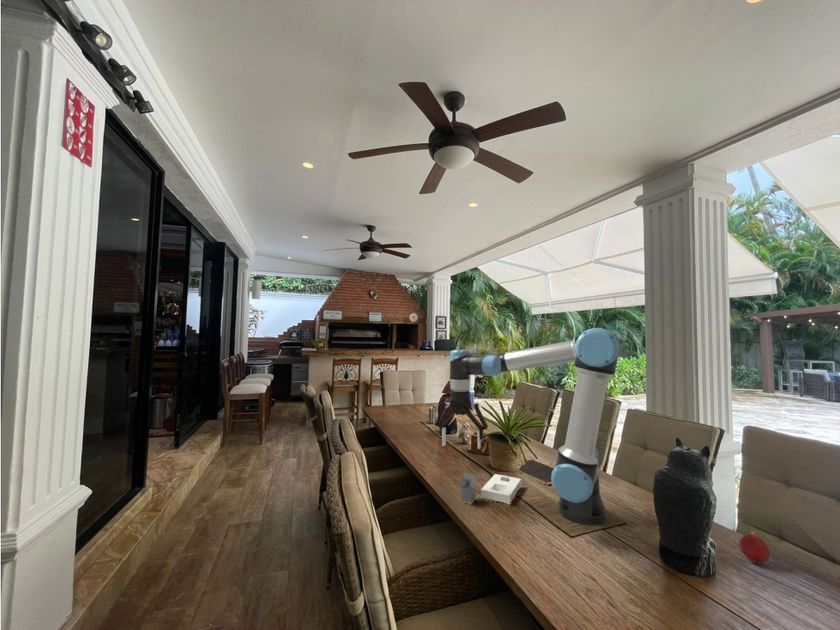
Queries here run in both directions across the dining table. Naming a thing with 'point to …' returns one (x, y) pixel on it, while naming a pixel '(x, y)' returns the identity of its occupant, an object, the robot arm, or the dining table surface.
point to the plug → (468, 487)
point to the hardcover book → (537, 470)
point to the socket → (501, 488)
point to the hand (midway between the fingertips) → (461, 446)
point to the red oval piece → (754, 548)
